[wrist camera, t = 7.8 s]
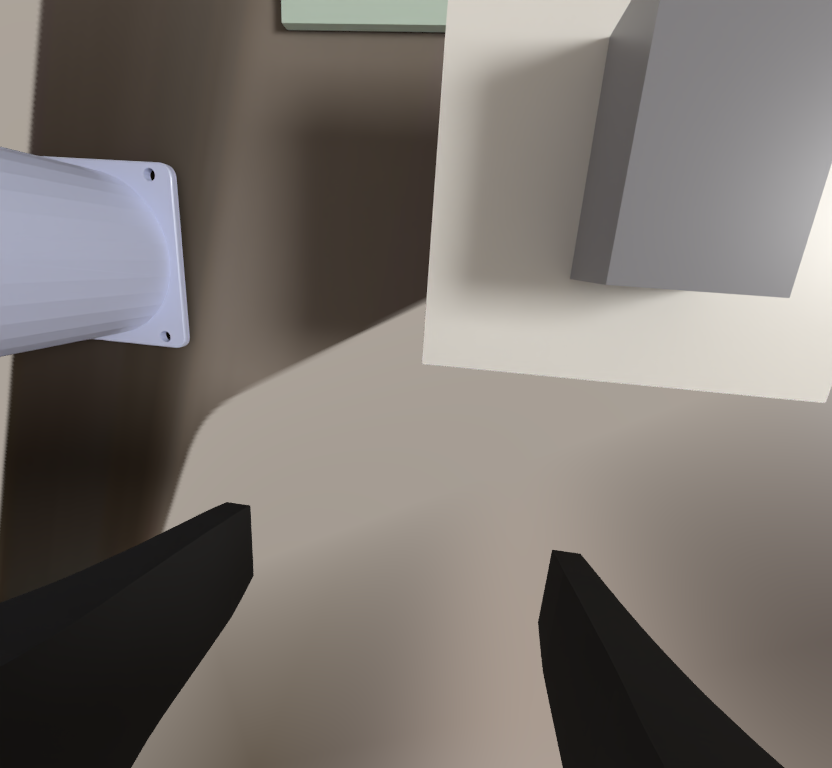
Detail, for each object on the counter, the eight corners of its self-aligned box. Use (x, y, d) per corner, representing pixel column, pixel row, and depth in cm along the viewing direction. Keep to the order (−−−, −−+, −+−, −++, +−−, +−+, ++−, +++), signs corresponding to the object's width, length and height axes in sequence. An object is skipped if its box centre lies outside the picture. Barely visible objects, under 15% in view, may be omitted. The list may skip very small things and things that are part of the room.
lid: (424, 359, 12) (403, 397, 9) (456, -87, 9) (445, -298, 6) (807, 395, 11) (959, 456, 7) (979, -101, 8) (1353, -371, 5)
